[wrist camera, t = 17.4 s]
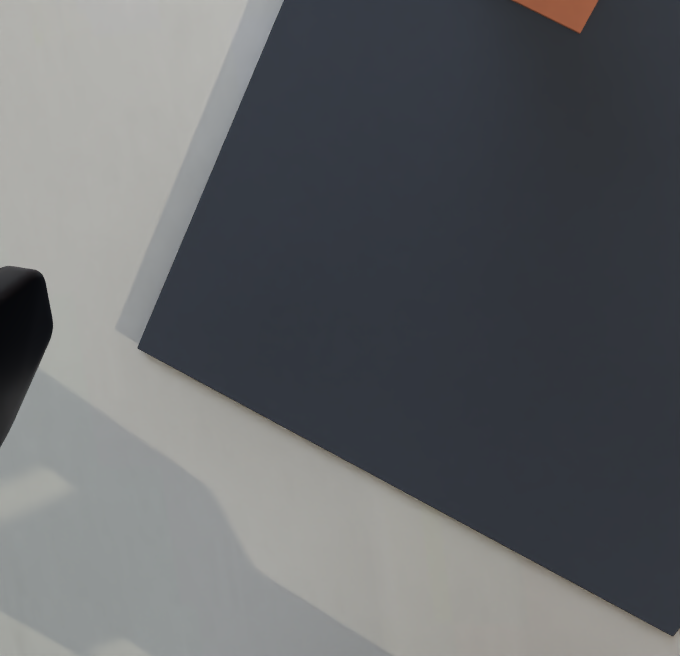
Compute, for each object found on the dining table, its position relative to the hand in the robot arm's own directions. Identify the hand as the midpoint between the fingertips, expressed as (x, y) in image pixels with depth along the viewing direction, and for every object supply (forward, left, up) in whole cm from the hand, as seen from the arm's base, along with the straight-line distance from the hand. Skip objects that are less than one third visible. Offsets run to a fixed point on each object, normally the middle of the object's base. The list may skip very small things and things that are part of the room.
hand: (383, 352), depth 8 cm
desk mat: (-3, -5, -12) cm, 13 cm away
